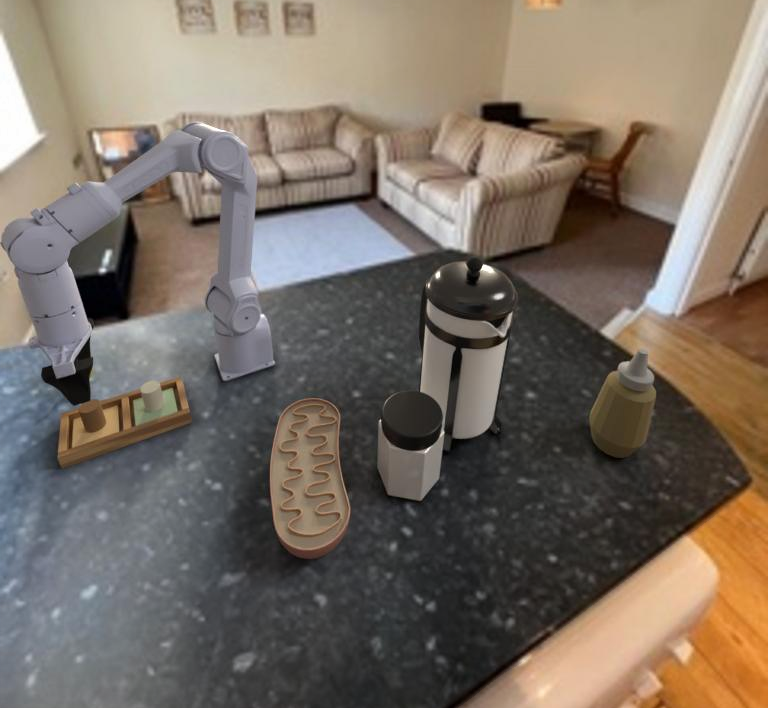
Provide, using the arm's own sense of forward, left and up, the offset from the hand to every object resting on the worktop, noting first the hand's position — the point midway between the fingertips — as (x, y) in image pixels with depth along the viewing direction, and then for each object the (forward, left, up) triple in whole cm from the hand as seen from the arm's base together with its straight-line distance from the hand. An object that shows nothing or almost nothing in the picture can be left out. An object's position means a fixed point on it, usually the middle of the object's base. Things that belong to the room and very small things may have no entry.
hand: (82, 384), depth 65 cm
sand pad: (0, 0, -9) cm, 9 cm away
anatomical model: (-25, +24, -10) cm, 36 cm away
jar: (-38, +29, -10) cm, 49 cm away
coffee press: (-50, +23, -10) cm, 56 cm away
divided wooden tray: (-4, 0, -10) cm, 11 cm away
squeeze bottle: (-69, +40, -10) cm, 80 cm away
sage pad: (-8, 0, -9) cm, 12 cm away
